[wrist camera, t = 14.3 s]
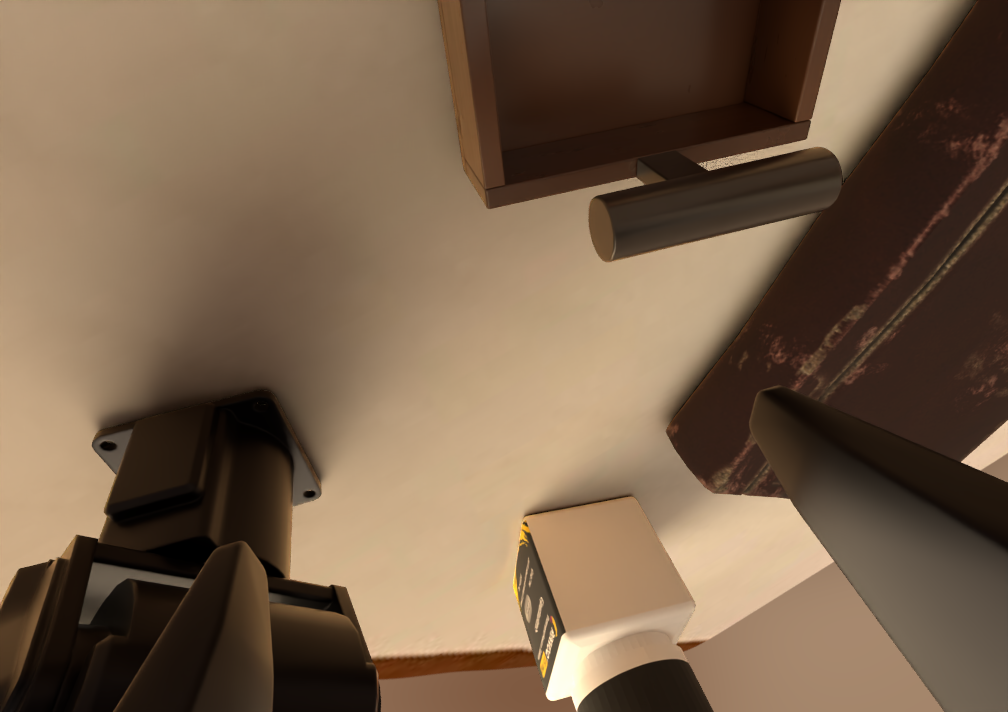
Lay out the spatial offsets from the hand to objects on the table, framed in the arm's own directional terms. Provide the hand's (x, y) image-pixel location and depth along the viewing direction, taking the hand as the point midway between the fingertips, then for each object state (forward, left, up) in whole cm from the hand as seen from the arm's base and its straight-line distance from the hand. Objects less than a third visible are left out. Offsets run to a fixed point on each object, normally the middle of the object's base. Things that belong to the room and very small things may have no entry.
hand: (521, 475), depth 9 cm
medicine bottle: (-23, -5, -12) cm, 26 cm away
